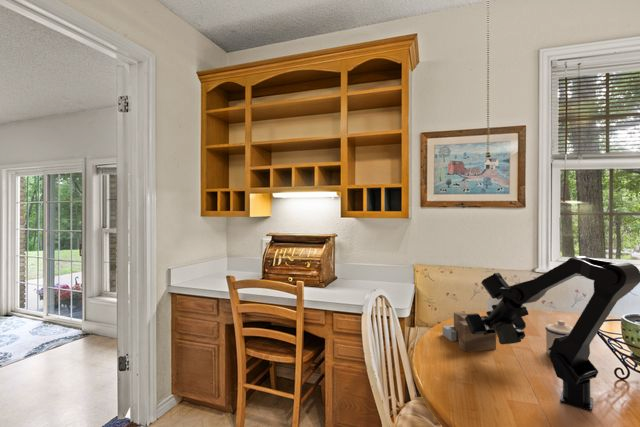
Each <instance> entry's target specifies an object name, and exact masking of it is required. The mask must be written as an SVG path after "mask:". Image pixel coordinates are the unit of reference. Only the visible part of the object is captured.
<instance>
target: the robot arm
mask: <svg viewBox="0 0 640 427" xmlns="http://www.w3.org/2000/svg"><path fill="white" fill-rule="evenodd" d="M579 275H580V276H583V277H584V278H586V279H588V280H591V281H593V293H592V296H591V297H590V299H589V301H588V302H587V304H586V306H585V307H584V309H583V310H582V312H581V313H580V315H579V317H578V319H577V321H576V322H575V324H574V326H572V327H573V329H572V330H571V332H570V334H569V335H565V336H561V337H558V338H555V340H554V342H553V345H552V346H551V347H550V348H549V349H548V350H551V351H550V353H549V354H548V358H549V359H550V362H551V364H552V366H553V370H554V373H555V375H556V377H557V378H559V379H561V380H562V390H561V393H560V398H559V402H560V403H564V404H567V405H570V406H573V407H577V408H580V409H584V410H586V411H587V410H588V411H592V410H593V405H594V404H593V403H594V398H593V397H592V396H591V380H593V379H596V378H597V377H598V374H599V370H598V369H597V367H596V366H595V365H594V364H593V363H592V361H591V360H590V359H589V358H590V355H591V347H590V346H591V345H590V344H591V343H592V341H593V340H594V338H595V337H596V335H597V334H598V332H599V330H600V329H601V328H602V326H603V325H604V323H605V321H606V320H607V318H608V317H609V315H610V313H611V312H612V310H613V309H614V307H615V305H616V304H617V303H618V301H619V300H621V299H622V298H624V297H625V296H626V295H628V294H629V293H630V292H631V291H633V290H634V289H635V288H636V286H638V285H639V284H640V269H639V268H638V267H637V266H636V265H635V264H633V263H630V262H626V261H625V262H623V261H621V262H612V261H610V260H609V261H607V260H601V259H597V258H591V257H587V256H585V255H580V256H573V257H572V256H571V257H570V258H568V259H567V260H566V261H564V262H563V263H561V264H559V265H558V266H555V267H554V268H552V269H550V270H548V271H546V272H544V273H543V274H541V275H539V276H537V277H536V278H535V277H534V278H533V279H529V280H526V281H522V282H519V283H516V284H513V285H509V284H508V283H507V281H506V280H505V279H504V278H503V276H502V274H501V273H500V272H493V274H491V275H489V276H488V277H486V278H484V279H483V280H482V281H481V283H480V284H481V285H482V287H483V288H484V289H485V290H486V292H487V293H488V295H489V297H490V296H491V297H492V298H493V299H495V298H497V300H499V299H502V298H503V299H502V300H501V301H500V302H499V303H498V304H497V305H492V308H493V310H492V311H487V310H486V312H485V314H486V315H482V316H481V315H480V314H479V313H476V312H475V313H466V314H467V316H466V317H465V320H466V322H467V324H468V327H469V329H470V331H471V333H472V334H482V333H483V334H484V335H487V334H490V333H496V336H497V337H498V338H497V339H498V343H499V344H500V345H510V344H511V345H512V344H518V343H522V340H524V338H525V337H526V333H525V331H524V330H525V329H526V328H527V326H526V321H525V320H524V319H523V317H525V316H529V311H528V309H527V307H526V306H525V305H526V304H531V303H535V302H537V301H539V300H540V299H541V298H542V297H545V294H546V293H547V292H548V291H549V290H551V289H552V288H553V289H554V288H555V287H557V286H559V285H561V284H564V283H565V282H566V281H569V280H571V279H573V278H575V277H577V276H579ZM487 316H488V317H487ZM513 325H514V326H515V327H514V326H513ZM495 331H496V332H495Z"/></svg>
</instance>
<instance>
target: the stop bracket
mask: <svg viewBox="0 0 640 427" xmlns="http://www.w3.org/2000/svg"><path fill="white" fill-rule="evenodd" d="M442 336H444V337H445V338H446V339H448V340H449V341H451V342H456V341H457V338H456V331H454V324H453V325H452V324H451V325H443V326H442Z"/></svg>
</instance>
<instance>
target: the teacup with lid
mask: <svg viewBox="0 0 640 427" xmlns="http://www.w3.org/2000/svg"><path fill="white" fill-rule="evenodd" d="M573 327H574V326H570V325H569V324H568V323H566V322H565V321H564V320H562V319H559V320H557V322H554V323H549V324H546V325H545V334H546V335H545V337H546V338H545V339H546V341H545V342H546V345H545V346H546V348H545V349H546V354H547V355H549V353H550V351H551V350H548V349H549V348H550V347H551V346H552V345H553V342H554V340H555V338H558V337H561V336H565V335H569V334H570V332H571V330H572V329H573Z"/></svg>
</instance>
